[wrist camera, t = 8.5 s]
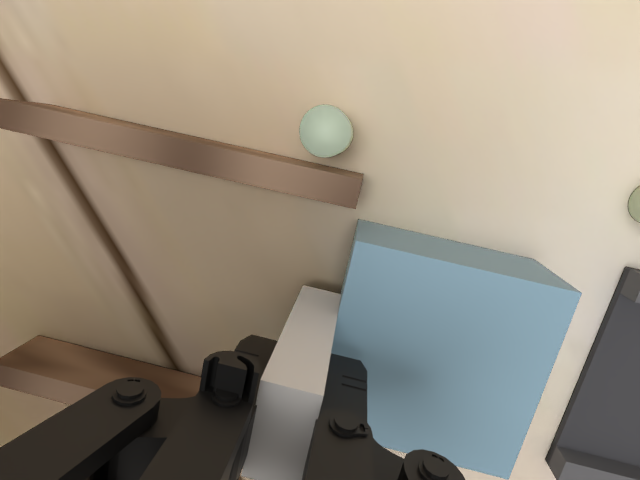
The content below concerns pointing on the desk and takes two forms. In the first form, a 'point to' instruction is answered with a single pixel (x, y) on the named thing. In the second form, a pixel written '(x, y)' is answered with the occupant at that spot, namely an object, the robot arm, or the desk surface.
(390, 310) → the block
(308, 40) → the desk surface
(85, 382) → the parallel brown rails
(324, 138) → the goal posts
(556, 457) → the tray
